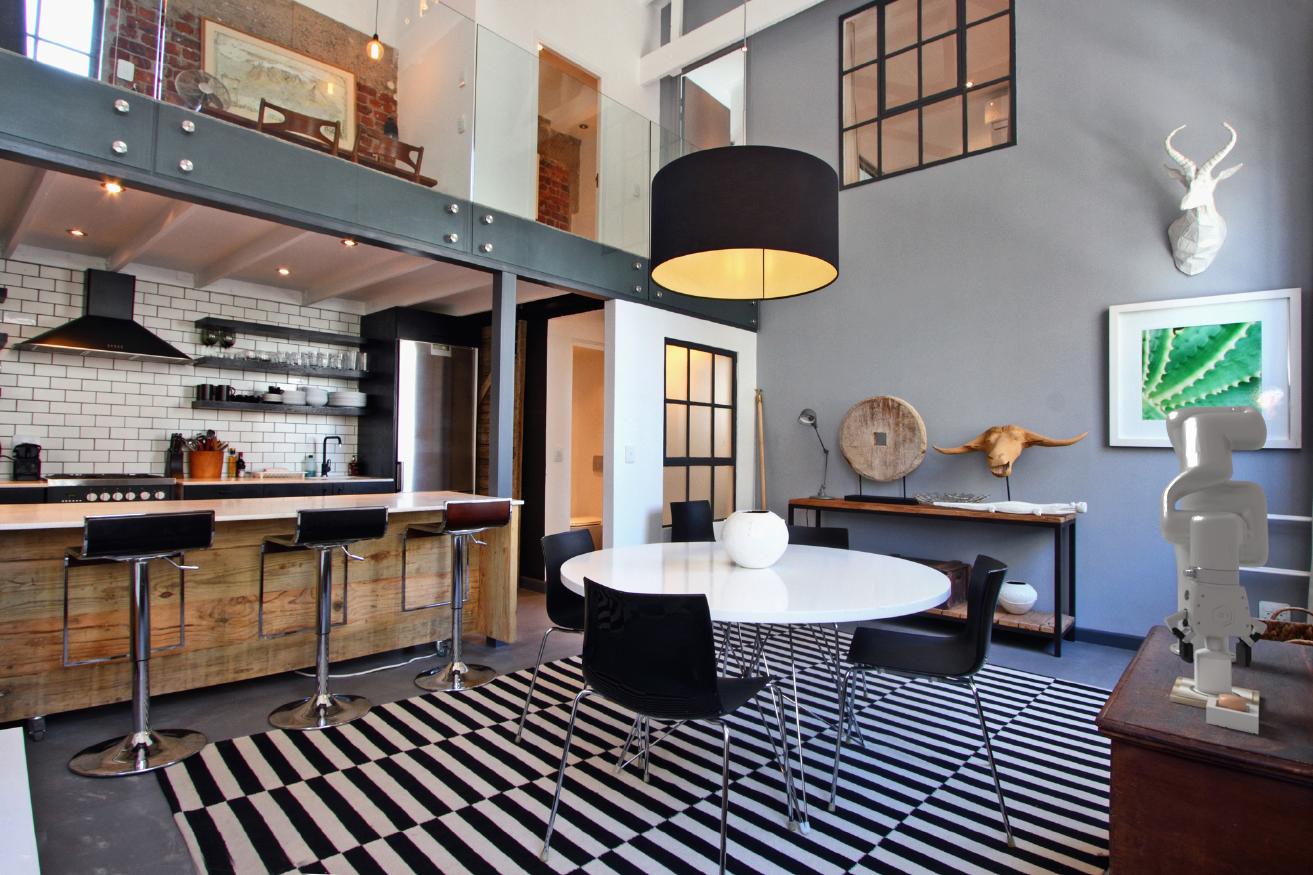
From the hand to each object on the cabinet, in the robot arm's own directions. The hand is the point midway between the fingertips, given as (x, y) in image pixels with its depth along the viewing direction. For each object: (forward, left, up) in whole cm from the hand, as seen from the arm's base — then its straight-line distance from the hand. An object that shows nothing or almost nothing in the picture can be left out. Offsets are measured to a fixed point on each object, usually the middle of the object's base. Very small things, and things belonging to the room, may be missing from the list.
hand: (1214, 663), depth 134 cm
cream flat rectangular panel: (0, 0, -7) cm, 7 cm away
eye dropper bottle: (0, 0, -6) cm, 6 cm away
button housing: (+13, -4, -7) cm, 16 cm away
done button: (+13, -4, -5) cm, 15 cm away
